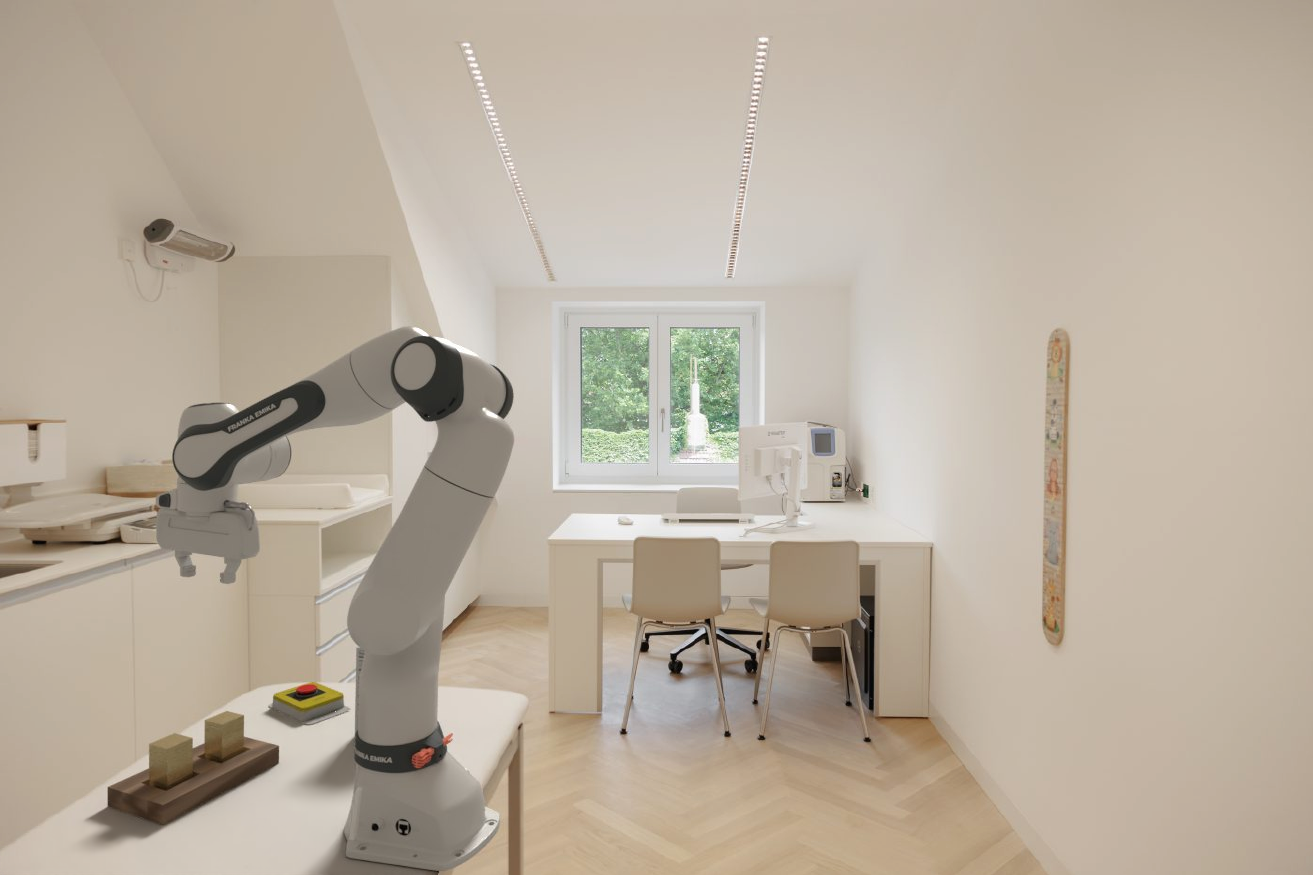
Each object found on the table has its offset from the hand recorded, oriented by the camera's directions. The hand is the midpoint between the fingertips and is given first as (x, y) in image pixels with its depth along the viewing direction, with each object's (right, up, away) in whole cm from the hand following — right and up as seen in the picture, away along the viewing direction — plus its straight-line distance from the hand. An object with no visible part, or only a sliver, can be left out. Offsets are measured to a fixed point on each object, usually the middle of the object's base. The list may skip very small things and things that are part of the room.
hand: (207, 579), depth 122 cm
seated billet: (+4, -31, -2) cm, 32 cm away
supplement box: (+25, -32, +15) cm, 43 cm away
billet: (+1, -32, -11) cm, 33 cm away
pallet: (+3, -32, -6) cm, 32 cm away
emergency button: (+6, -31, +23) cm, 39 cm away
